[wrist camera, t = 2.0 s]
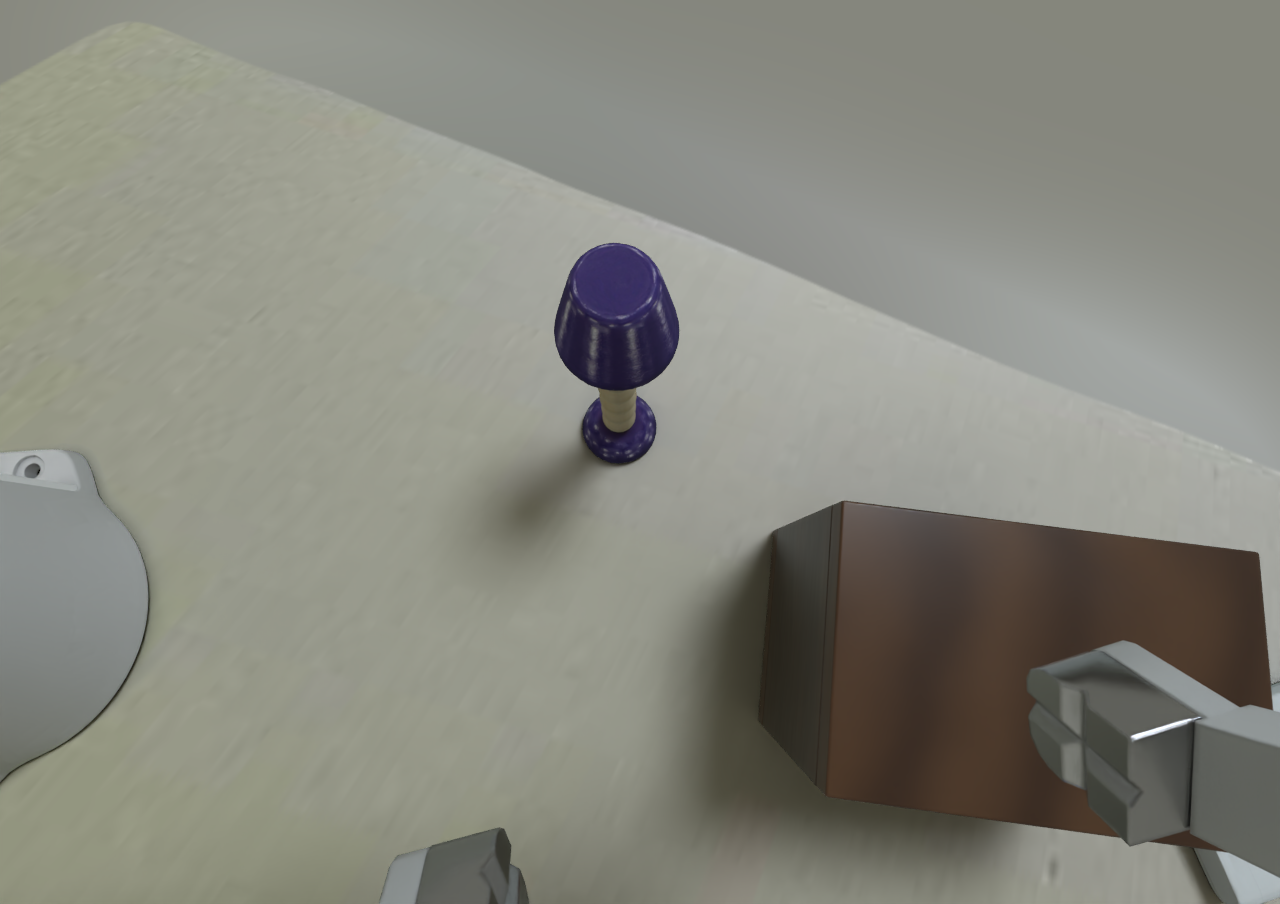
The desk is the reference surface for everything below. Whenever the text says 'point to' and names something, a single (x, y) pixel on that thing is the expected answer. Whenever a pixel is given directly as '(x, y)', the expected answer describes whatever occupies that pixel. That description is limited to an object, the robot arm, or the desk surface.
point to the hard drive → (1240, 866)
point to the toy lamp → (617, 344)
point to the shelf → (979, 649)
